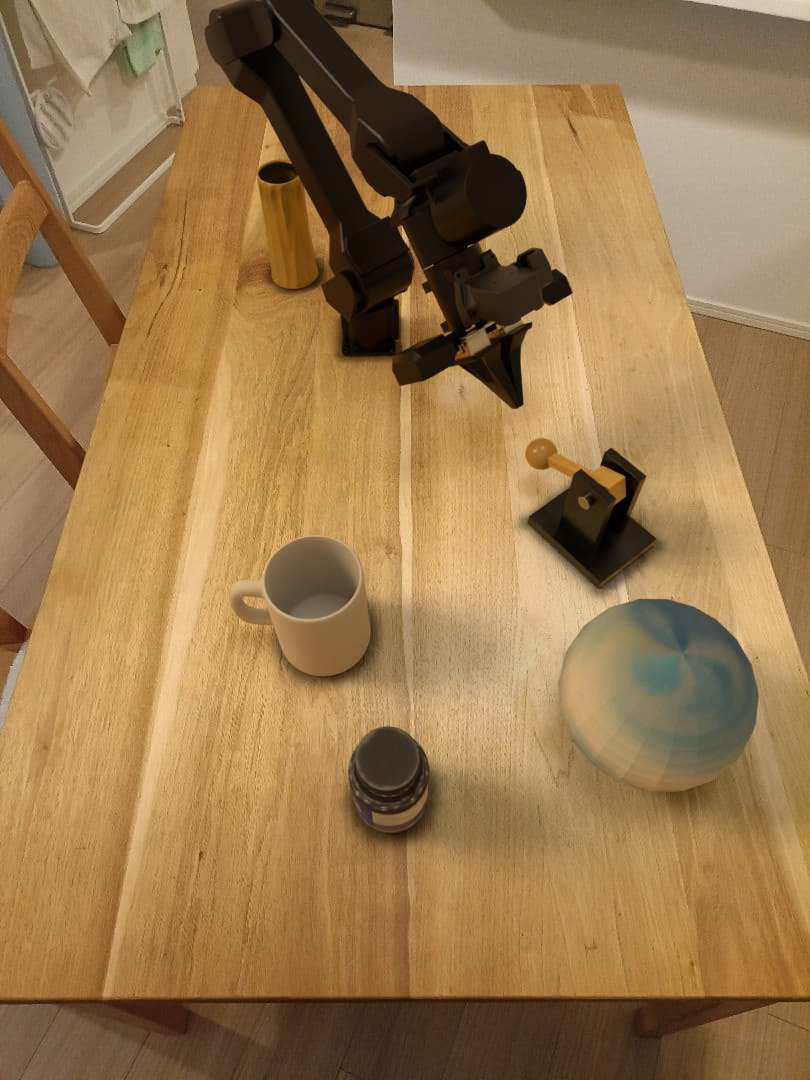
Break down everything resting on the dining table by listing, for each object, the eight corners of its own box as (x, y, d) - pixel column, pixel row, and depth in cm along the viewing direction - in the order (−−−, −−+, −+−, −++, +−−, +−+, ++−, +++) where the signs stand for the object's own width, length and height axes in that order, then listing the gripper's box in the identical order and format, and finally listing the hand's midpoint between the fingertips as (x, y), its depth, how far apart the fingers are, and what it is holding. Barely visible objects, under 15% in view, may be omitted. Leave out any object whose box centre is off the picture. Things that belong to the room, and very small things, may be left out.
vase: (311, 292, 98) (296, 189, 86) (265, 287, 99) (245, 184, 87) (323, 262, 102) (311, 159, 90) (279, 257, 102) (261, 154, 90)
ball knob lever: (520, 468, 79) (516, 443, 77) (543, 453, 80) (540, 427, 78) (606, 514, 71) (604, 487, 69) (630, 497, 72) (629, 470, 70)
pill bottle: (353, 763, 66) (342, 718, 56) (424, 757, 66) (425, 711, 56) (356, 839, 62) (346, 804, 53) (431, 832, 62) (434, 797, 53)
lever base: (526, 522, 79) (539, 463, 70) (581, 483, 81) (600, 421, 73) (598, 589, 74) (620, 533, 66) (653, 545, 77) (682, 486, 69)
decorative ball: (724, 828, 62) (802, 776, 50) (539, 796, 64) (569, 737, 51) (716, 660, 70) (782, 578, 58) (552, 635, 72) (581, 549, 59)
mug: (373, 596, 74) (367, 534, 65) (367, 679, 70) (360, 624, 60) (250, 593, 75) (227, 530, 65) (236, 675, 70) (209, 620, 61)
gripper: (410, 279, 61) (491, 452, 65) (577, 190, 67) (640, 354, 72) (357, 305, 71) (430, 454, 75) (506, 226, 77) (566, 368, 82)
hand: (518, 407), depth 76 cm, fingers closed
